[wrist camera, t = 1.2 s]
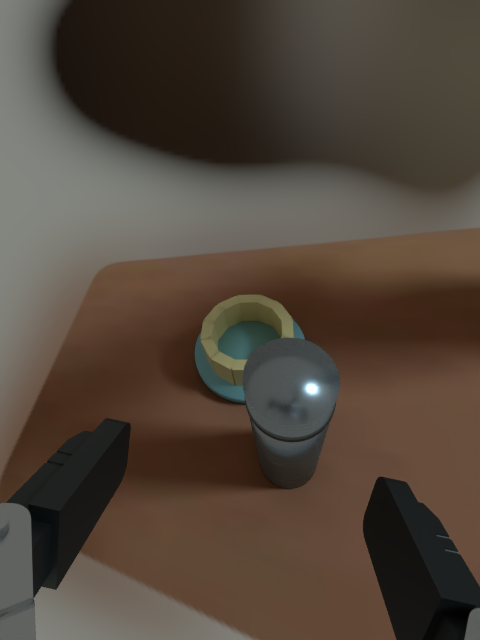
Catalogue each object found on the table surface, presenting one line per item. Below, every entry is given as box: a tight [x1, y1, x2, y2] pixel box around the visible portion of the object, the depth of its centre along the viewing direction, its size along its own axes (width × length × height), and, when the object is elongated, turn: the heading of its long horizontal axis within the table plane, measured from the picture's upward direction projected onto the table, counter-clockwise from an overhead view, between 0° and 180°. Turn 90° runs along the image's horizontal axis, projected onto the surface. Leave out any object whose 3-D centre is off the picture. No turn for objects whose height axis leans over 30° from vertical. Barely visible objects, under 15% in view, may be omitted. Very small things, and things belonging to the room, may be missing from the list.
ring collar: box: [195, 294, 305, 404], centre depth 32 cm, size 11×11×4 cm
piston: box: [242, 338, 340, 489], centre depth 21 cm, size 5×5×14 cm
